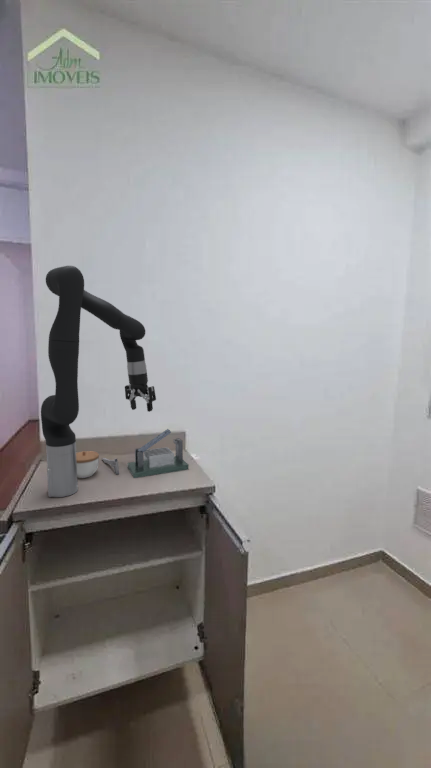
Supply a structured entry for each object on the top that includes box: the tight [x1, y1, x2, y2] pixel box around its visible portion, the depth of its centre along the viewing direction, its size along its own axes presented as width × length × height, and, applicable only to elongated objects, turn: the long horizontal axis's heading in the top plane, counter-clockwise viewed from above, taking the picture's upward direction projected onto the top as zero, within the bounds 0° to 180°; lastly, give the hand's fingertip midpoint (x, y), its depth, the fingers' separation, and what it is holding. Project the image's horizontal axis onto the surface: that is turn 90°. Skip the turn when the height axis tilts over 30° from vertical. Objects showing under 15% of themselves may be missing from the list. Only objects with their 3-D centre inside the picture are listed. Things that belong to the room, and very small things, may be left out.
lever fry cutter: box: [127, 437, 189, 479], centre depth 141 cm, size 22×12×11 cm, turn 115°
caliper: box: [101, 457, 120, 475], centre depth 143 cm, size 20×1×6 cm, turn 34°
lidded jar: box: [76, 450, 100, 479], centre depth 134 cm, size 11×11×9 cm
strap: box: [138, 428, 172, 453], centre depth 140 cm, size 14×3×1 cm
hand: (142, 410), depth 145 cm, fingers open, 8 cm apart
